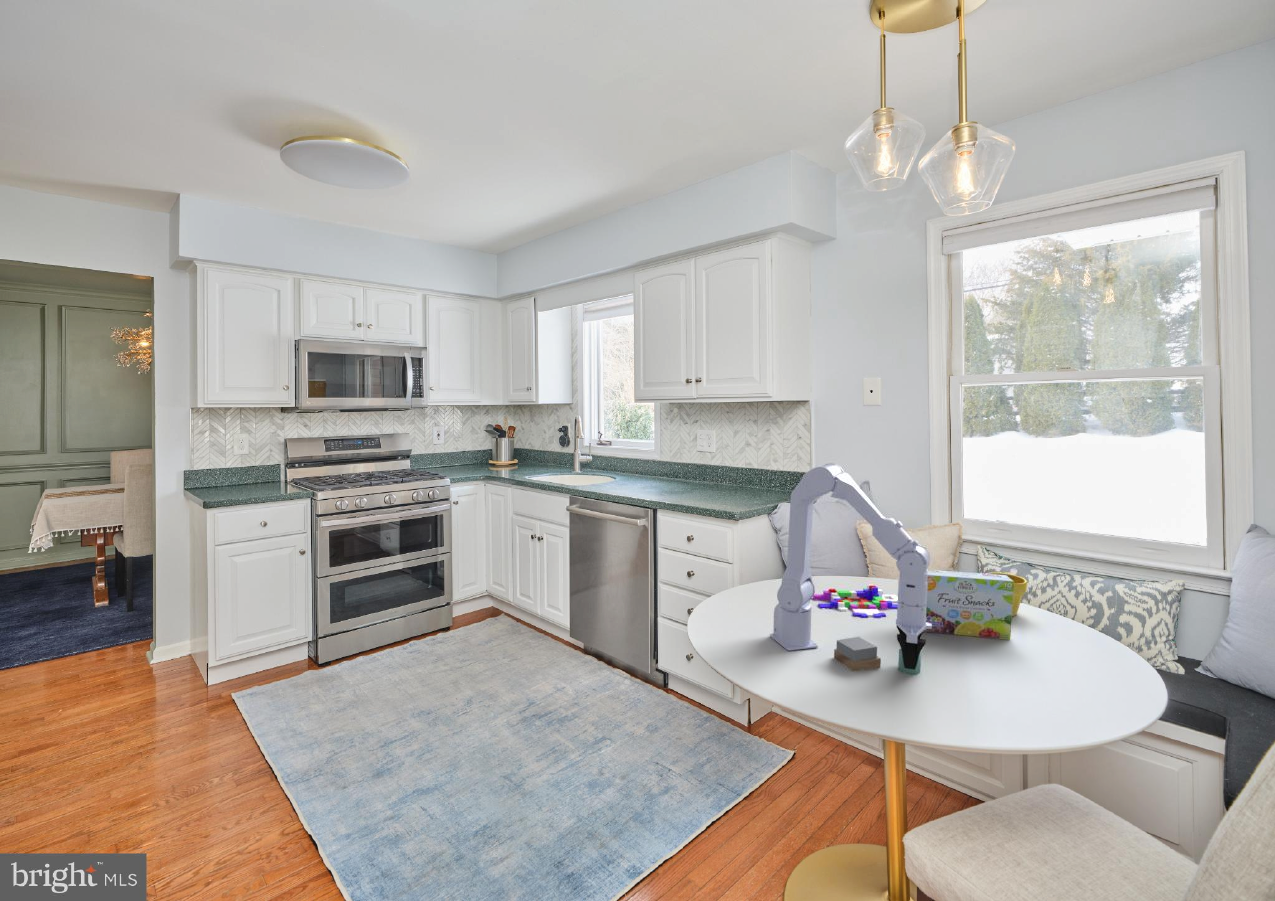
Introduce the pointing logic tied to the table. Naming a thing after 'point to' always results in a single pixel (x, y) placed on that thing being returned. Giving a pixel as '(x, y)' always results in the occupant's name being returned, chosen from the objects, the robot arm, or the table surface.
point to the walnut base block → (857, 662)
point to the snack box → (969, 604)
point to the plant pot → (1016, 590)
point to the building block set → (844, 602)
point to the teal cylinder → (905, 670)
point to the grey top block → (856, 649)
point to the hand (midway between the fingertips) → (909, 663)
